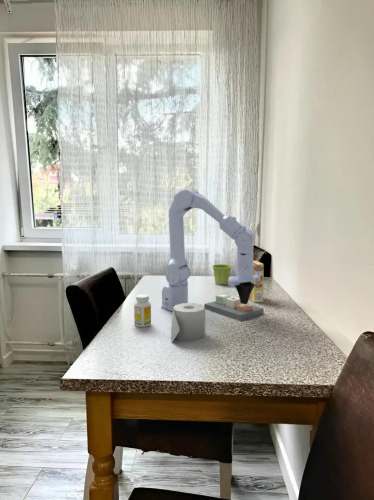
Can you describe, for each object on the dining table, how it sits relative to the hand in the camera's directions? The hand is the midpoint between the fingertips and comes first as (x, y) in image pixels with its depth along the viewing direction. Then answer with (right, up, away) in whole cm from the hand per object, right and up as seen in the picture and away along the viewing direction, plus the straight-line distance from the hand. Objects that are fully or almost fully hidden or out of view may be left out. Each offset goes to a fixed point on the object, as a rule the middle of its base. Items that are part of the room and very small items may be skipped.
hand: (244, 303), depth 127 cm
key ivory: (-3, -2, +4) cm, 6 cm away
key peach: (0, -4, 0) cm, 4 cm away
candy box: (+7, -2, +20) cm, 21 cm away
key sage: (-7, -1, +8) cm, 11 cm away
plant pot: (-3, +2, +48) cm, 48 cm away
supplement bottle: (-34, -6, -9) cm, 36 cm away
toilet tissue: (-20, -7, -20) cm, 29 cm away
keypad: (-3, -3, +4) cm, 6 cm away
